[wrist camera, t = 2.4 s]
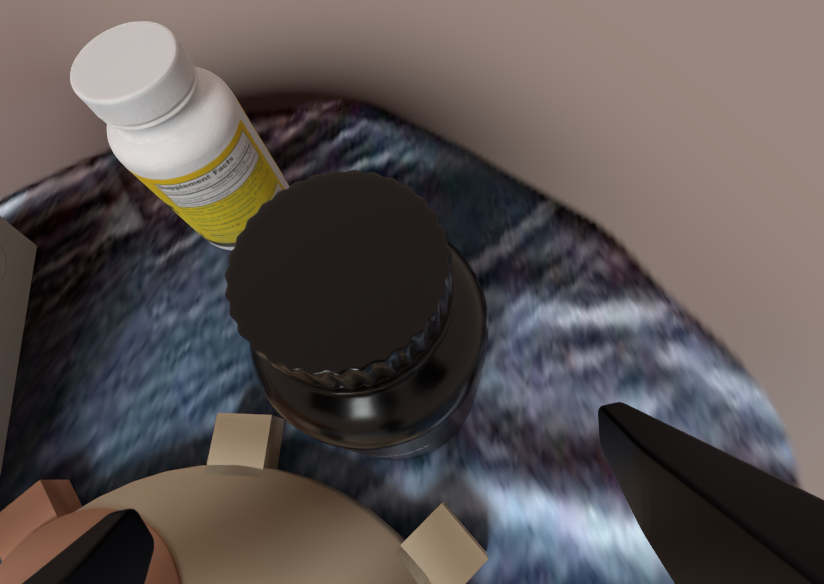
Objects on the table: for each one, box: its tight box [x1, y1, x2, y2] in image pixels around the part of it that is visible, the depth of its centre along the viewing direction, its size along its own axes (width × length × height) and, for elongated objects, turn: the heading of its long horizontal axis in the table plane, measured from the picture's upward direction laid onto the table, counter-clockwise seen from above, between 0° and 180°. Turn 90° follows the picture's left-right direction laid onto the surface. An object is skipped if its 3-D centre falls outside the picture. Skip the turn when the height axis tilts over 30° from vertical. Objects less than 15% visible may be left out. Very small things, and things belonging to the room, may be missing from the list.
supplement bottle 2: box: [225, 170, 488, 461], centre depth 15 cm, size 7×7×12 cm
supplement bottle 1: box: [70, 21, 289, 250], centre depth 20 cm, size 5×5×10 cm
